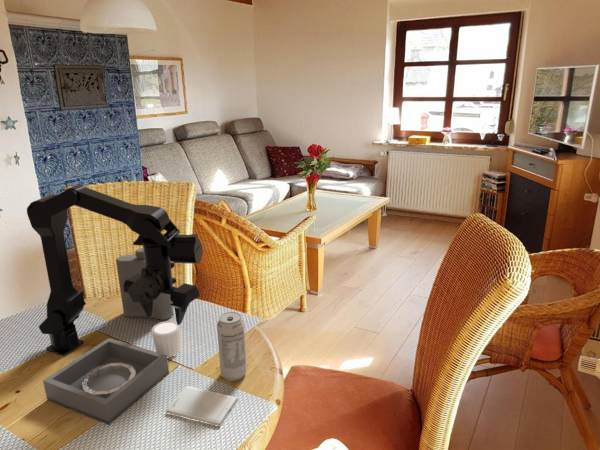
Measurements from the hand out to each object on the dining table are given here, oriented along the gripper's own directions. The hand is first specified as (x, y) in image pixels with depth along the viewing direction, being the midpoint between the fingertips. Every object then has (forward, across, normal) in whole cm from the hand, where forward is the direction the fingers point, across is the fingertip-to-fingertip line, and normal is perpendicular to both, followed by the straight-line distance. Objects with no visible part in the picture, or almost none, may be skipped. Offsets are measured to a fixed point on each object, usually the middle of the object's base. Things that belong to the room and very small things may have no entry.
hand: (164, 320), depth 113 cm
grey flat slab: (+10, +20, -13) cm, 26 cm away
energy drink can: (+9, +20, -1) cm, 22 cm away
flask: (+9, -18, +13) cm, 24 cm away
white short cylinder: (+9, 0, 0) cm, 9 cm away
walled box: (+9, -3, -16) cm, 19 cm away
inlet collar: (+9, -3, -16) cm, 19 cm away
